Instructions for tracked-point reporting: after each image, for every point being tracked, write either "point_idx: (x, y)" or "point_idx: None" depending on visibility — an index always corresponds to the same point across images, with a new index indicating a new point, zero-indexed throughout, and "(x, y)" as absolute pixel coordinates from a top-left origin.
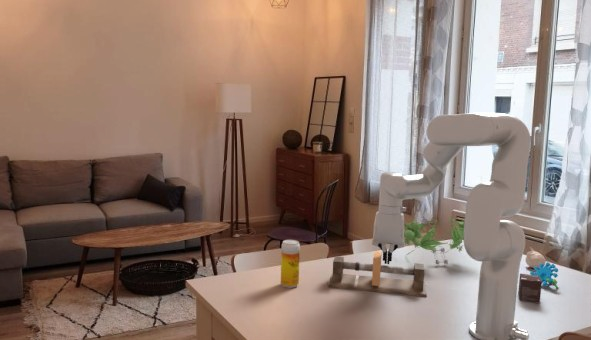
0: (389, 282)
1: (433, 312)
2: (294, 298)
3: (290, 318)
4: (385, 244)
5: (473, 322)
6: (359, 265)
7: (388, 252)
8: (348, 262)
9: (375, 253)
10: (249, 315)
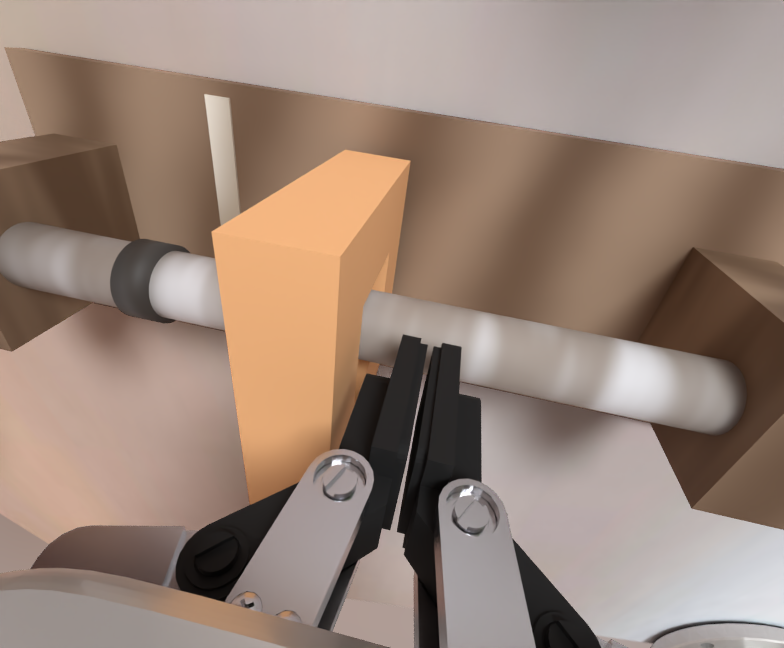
0: (479, 238)
1: (601, 541)
2: (46, 412)
3: (117, 519)
4: (330, 590)
5: (708, 642)
6: (169, 317)
7: (407, 534)
8: (52, 283)
9: (246, 341)
10: (14, 497)
